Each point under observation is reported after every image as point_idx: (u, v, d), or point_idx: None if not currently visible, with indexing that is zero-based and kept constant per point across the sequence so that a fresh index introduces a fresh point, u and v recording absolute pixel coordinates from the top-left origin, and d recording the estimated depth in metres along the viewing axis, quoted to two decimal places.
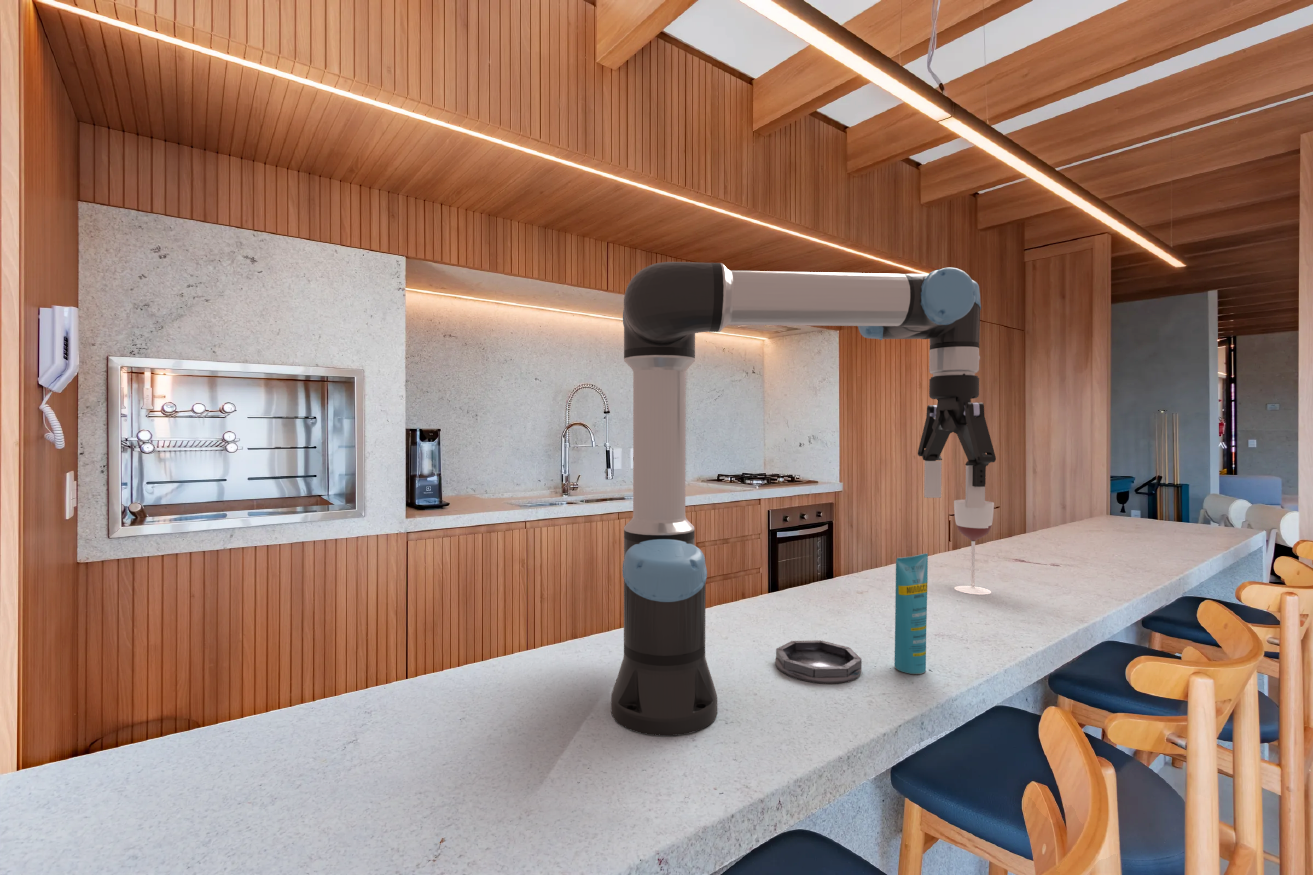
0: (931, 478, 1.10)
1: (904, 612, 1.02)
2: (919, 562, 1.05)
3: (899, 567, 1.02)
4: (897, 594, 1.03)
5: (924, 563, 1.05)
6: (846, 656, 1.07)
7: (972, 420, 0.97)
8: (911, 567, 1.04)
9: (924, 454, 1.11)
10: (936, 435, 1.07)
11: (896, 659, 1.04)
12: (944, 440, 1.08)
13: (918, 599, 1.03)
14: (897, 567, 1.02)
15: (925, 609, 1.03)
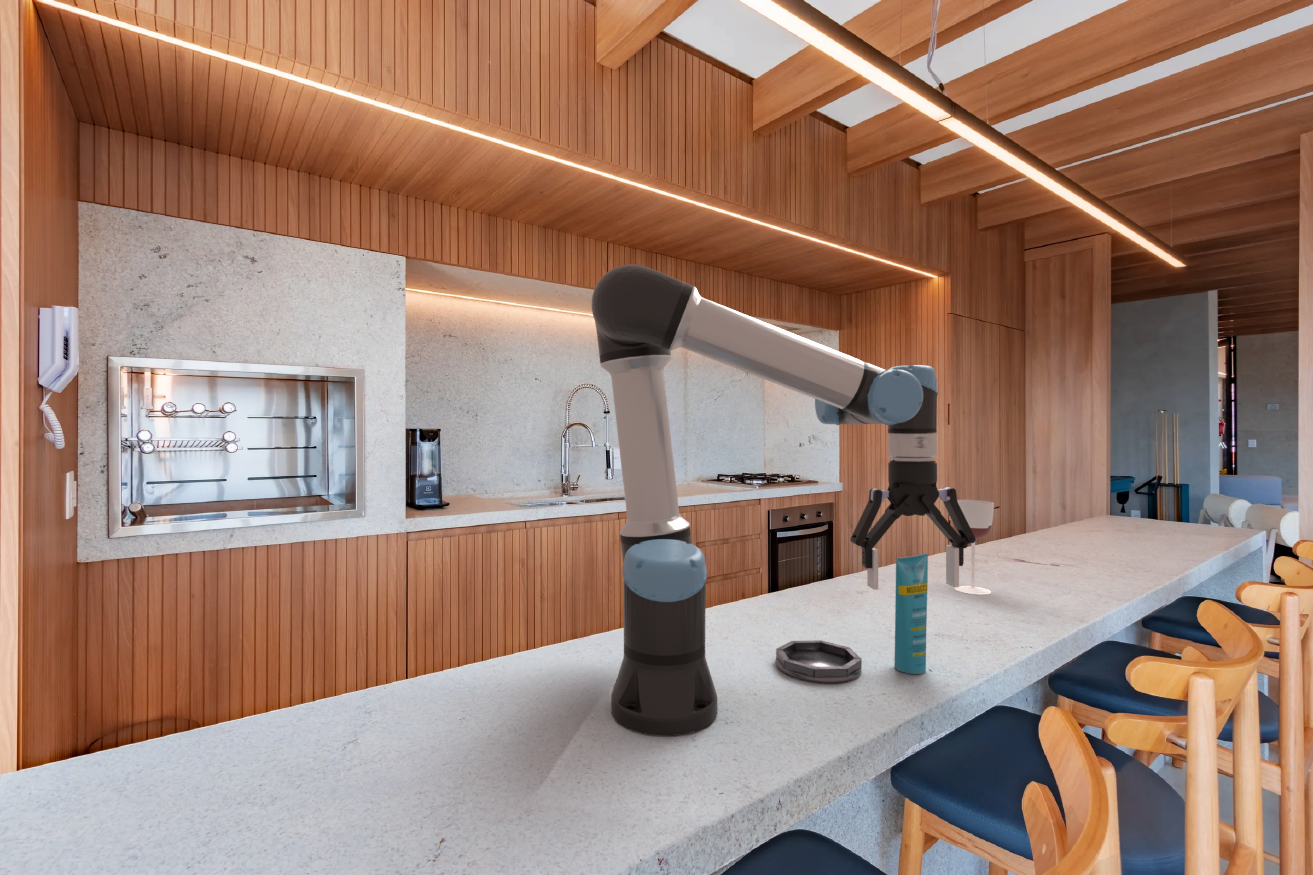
0: (948, 564, 1.04)
1: (904, 612, 1.02)
2: (919, 562, 1.05)
3: (899, 567, 1.02)
4: (897, 594, 1.03)
5: (924, 563, 1.05)
6: (846, 656, 1.07)
7: (867, 505, 1.04)
8: (911, 567, 1.04)
9: None
10: (930, 518, 1.05)
11: (896, 659, 1.04)
12: (940, 525, 1.03)
13: (918, 599, 1.03)
14: (897, 567, 1.02)
15: (925, 609, 1.03)
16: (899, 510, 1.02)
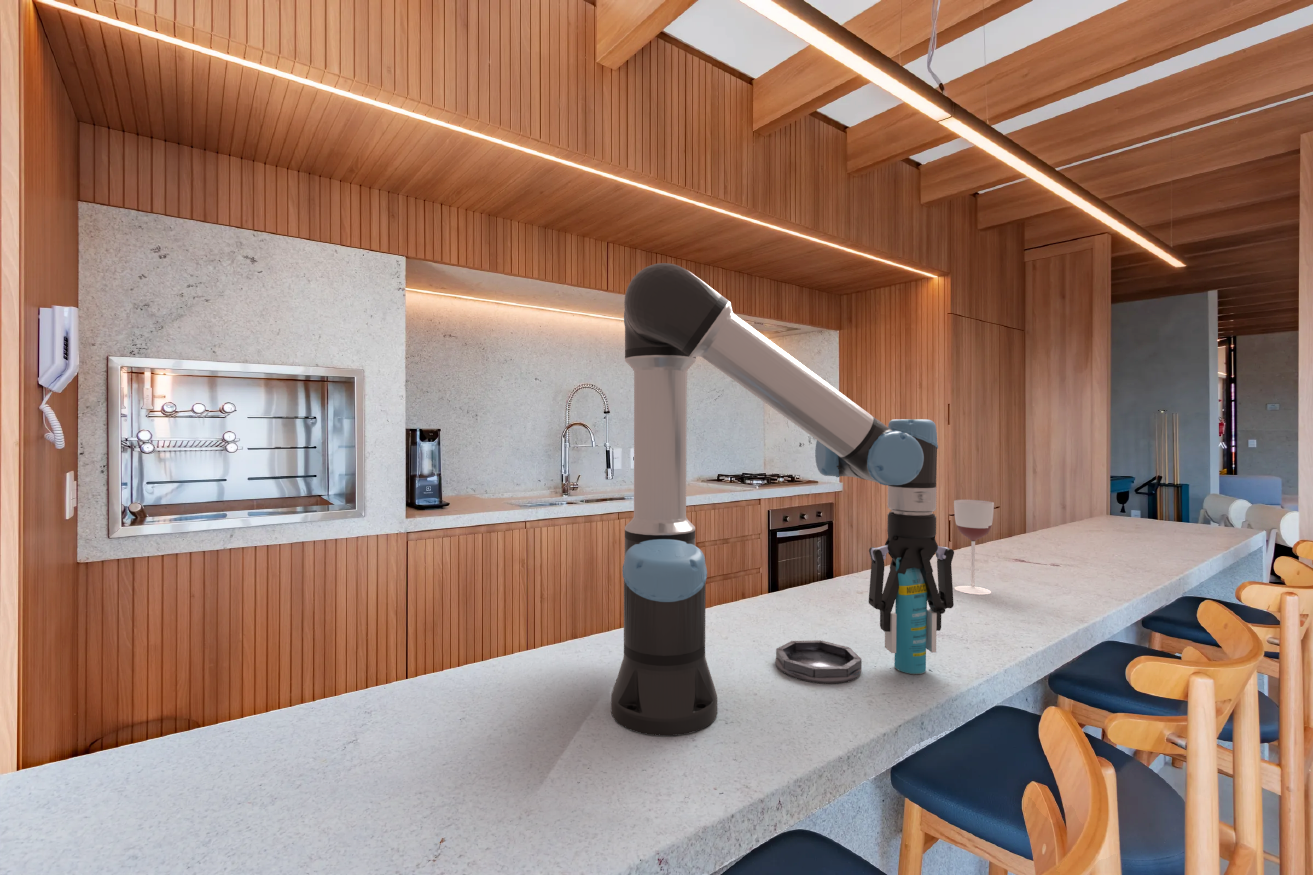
0: (926, 628, 1.04)
1: (904, 612, 1.02)
2: None
3: None
4: (897, 594, 1.03)
5: None
6: (846, 656, 1.07)
7: (872, 565, 1.04)
8: None
9: (932, 601, 1.05)
10: None
11: (896, 659, 1.04)
12: (927, 583, 1.03)
13: (918, 599, 1.03)
14: (897, 567, 1.02)
15: (925, 609, 1.03)
16: (903, 566, 1.02)
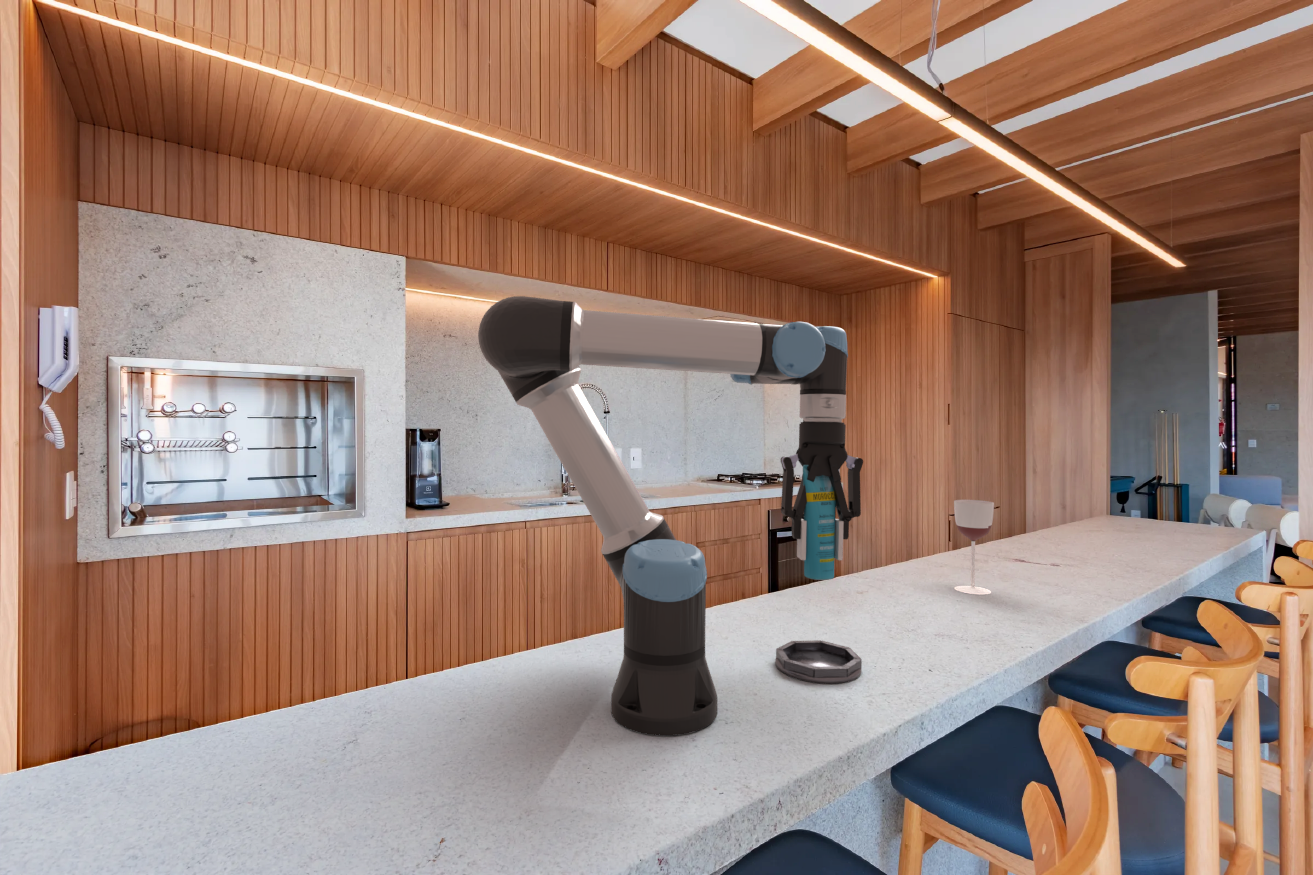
0: (835, 537, 1.05)
1: (811, 518, 1.03)
2: None
3: (806, 474, 1.03)
4: None
5: None
6: (846, 656, 1.07)
7: (783, 474, 1.05)
8: None
9: None
10: None
11: (805, 567, 1.05)
12: (835, 492, 1.04)
13: (825, 506, 1.03)
14: (804, 474, 1.03)
15: (833, 517, 1.04)
16: (812, 473, 1.03)
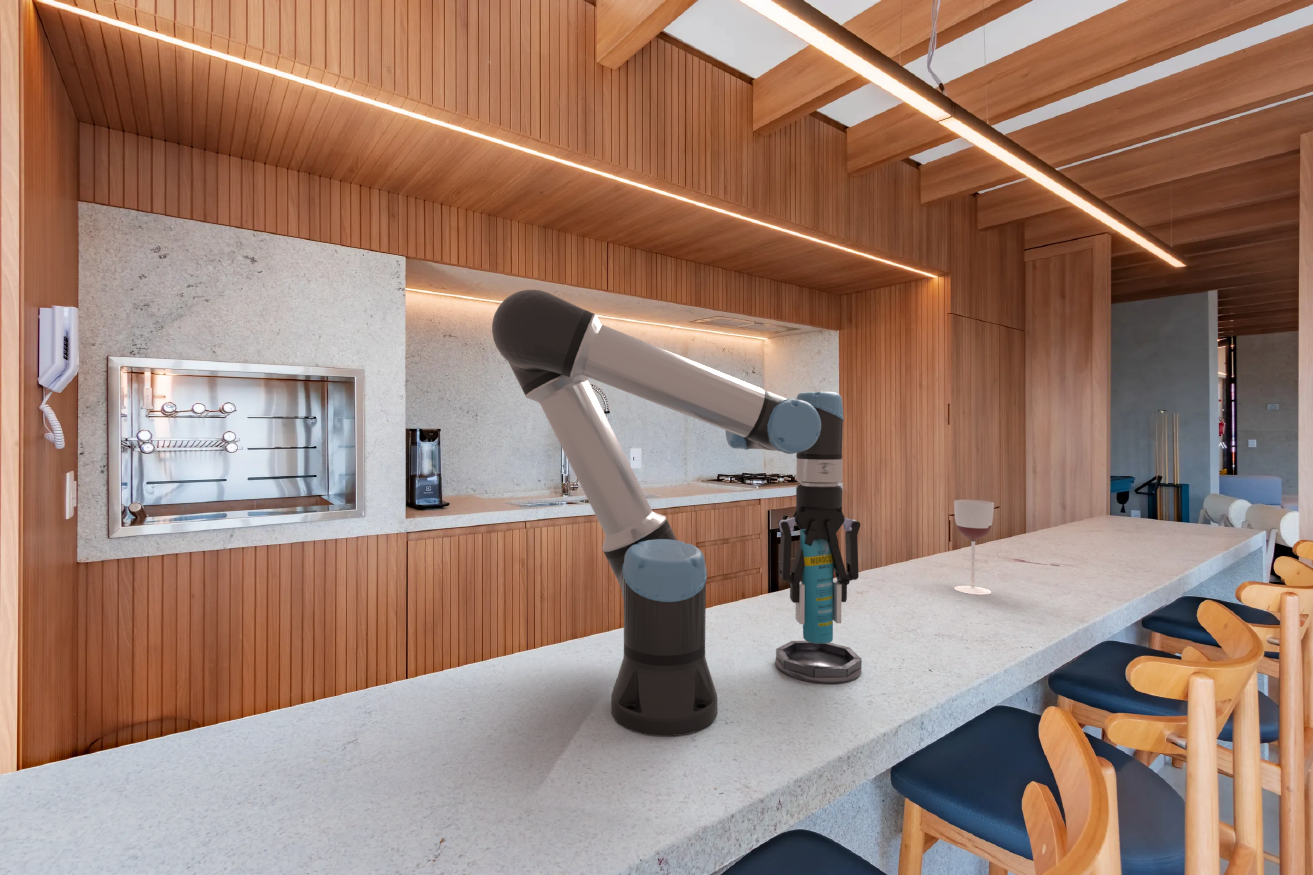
0: (833, 600, 1.06)
1: (809, 582, 1.03)
2: None
3: (803, 538, 1.03)
4: None
5: None
6: (846, 656, 1.07)
7: (781, 537, 1.05)
8: None
9: None
10: None
11: (804, 630, 1.05)
12: (833, 555, 1.04)
13: (823, 570, 1.04)
14: (801, 538, 1.03)
15: (831, 580, 1.05)
16: (809, 537, 1.03)
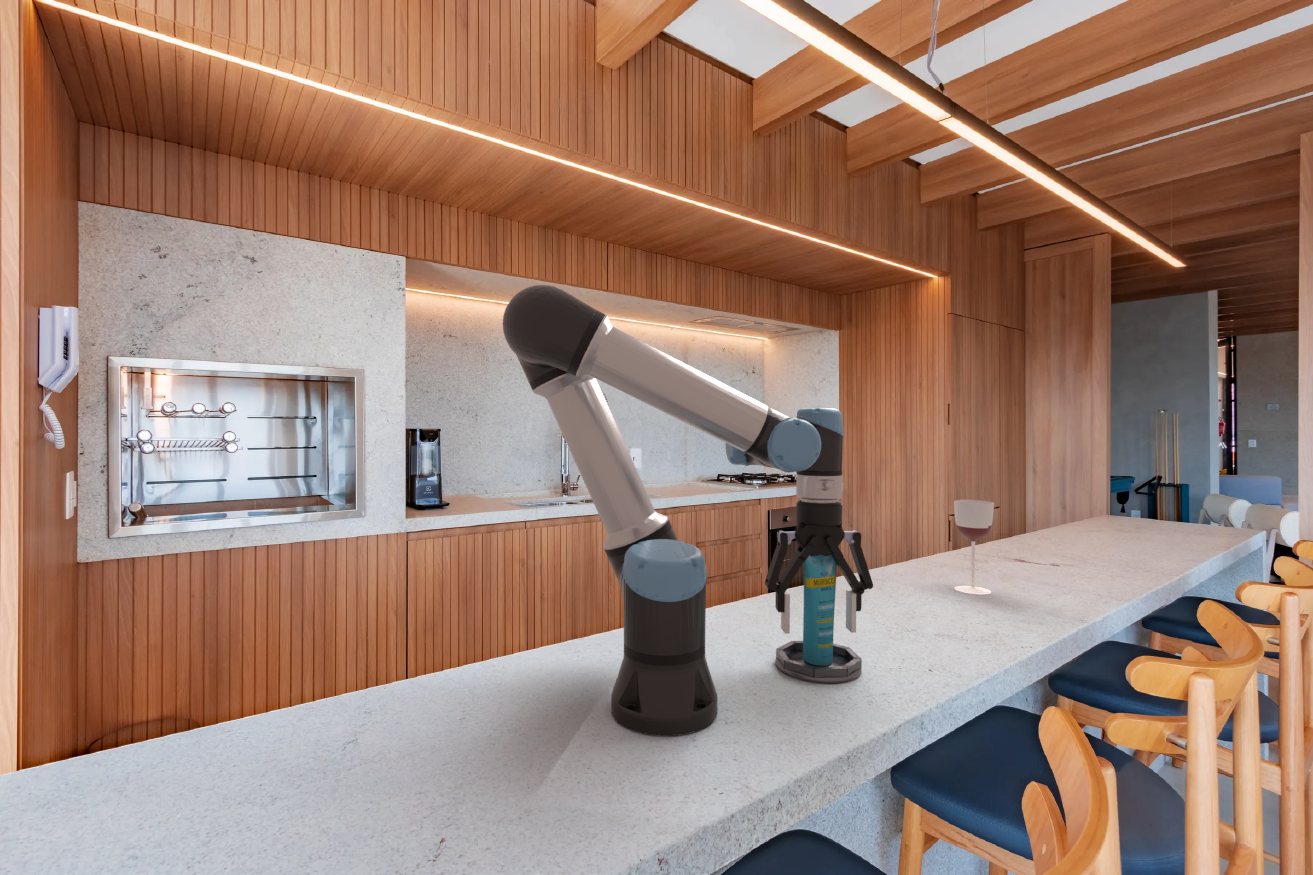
0: (847, 608, 1.06)
1: (811, 604, 1.03)
2: None
3: (806, 560, 1.03)
4: (805, 586, 1.04)
5: None
6: (846, 656, 1.07)
7: (776, 547, 1.05)
8: (820, 560, 1.05)
9: None
10: None
11: (803, 651, 1.05)
12: (841, 568, 1.04)
13: (825, 592, 1.04)
14: (805, 560, 1.03)
15: (833, 602, 1.05)
16: (805, 552, 1.03)
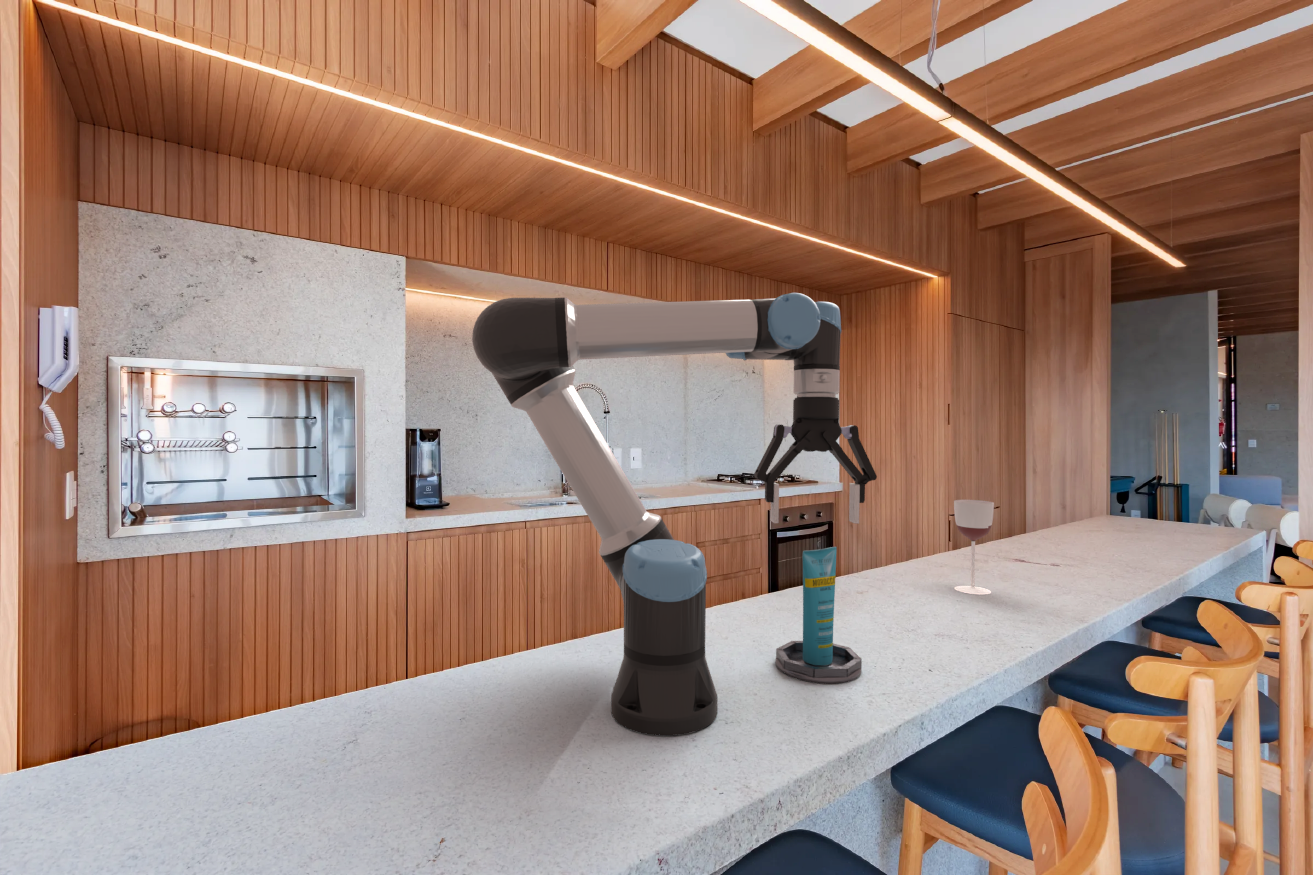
0: (851, 501, 1.06)
1: (810, 604, 1.03)
2: (827, 555, 1.06)
3: (805, 560, 1.03)
4: (804, 587, 1.04)
5: (832, 556, 1.06)
6: (846, 656, 1.07)
7: (771, 441, 1.05)
8: (819, 560, 1.05)
9: None
10: (834, 456, 1.06)
11: (803, 651, 1.05)
12: (842, 462, 1.04)
13: (824, 592, 1.04)
14: (803, 560, 1.03)
15: (832, 602, 1.05)
16: (800, 445, 1.03)
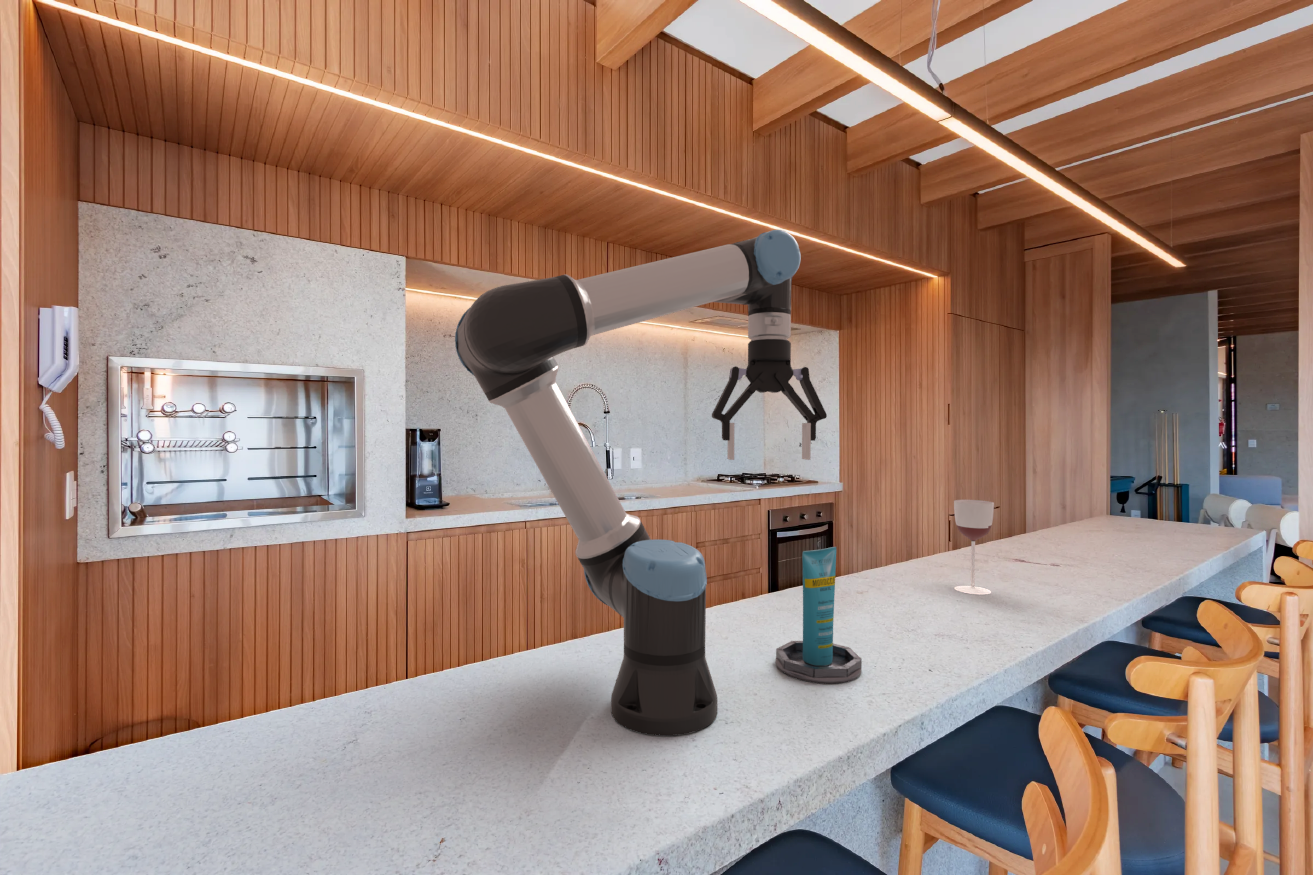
0: (803, 440, 1.12)
1: (810, 604, 1.03)
2: (827, 555, 1.06)
3: (805, 560, 1.03)
4: (804, 587, 1.04)
5: (832, 557, 1.06)
6: (846, 656, 1.07)
7: (727, 383, 1.11)
8: (818, 560, 1.05)
9: None
10: (787, 397, 1.12)
11: (803, 651, 1.05)
12: (794, 402, 1.10)
13: (824, 592, 1.04)
14: (803, 560, 1.03)
15: (832, 602, 1.05)
16: (754, 385, 1.09)
